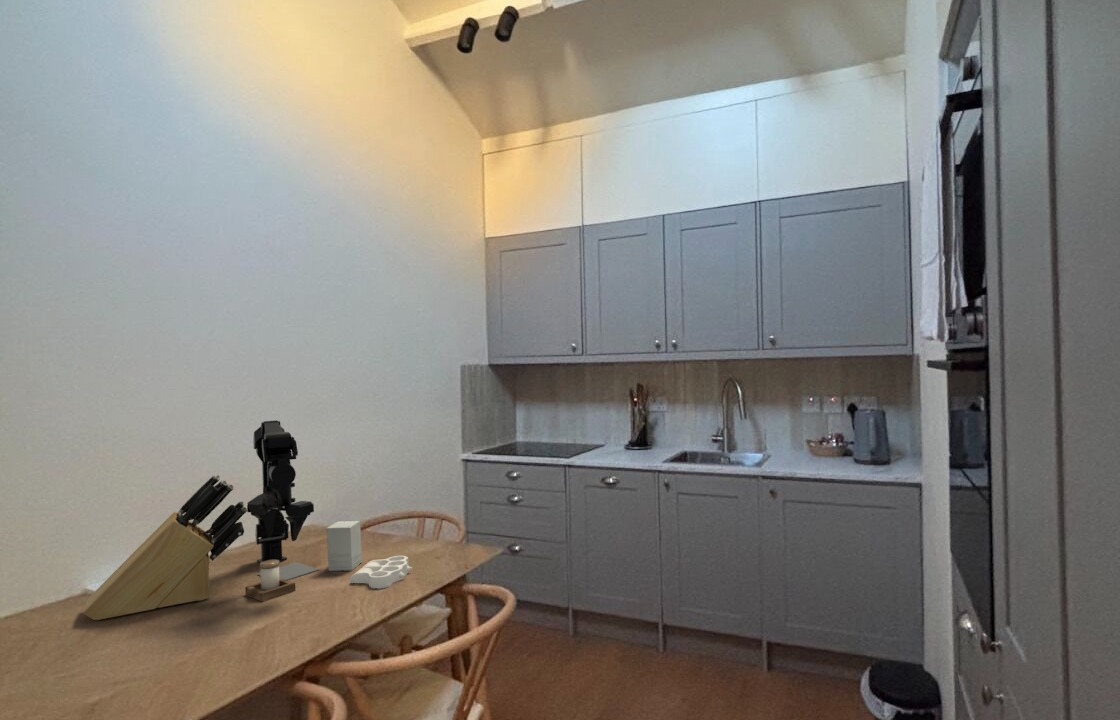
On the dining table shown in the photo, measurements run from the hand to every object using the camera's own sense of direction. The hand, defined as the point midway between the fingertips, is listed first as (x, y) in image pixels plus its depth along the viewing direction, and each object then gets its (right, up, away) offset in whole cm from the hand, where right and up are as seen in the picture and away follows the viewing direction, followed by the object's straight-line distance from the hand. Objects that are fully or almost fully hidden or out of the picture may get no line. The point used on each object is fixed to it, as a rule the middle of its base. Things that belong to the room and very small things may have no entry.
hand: (281, 539), depth 163 cm
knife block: (-26, -15, -5) cm, 30 cm away
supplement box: (+11, -13, +17) cm, 24 cm away
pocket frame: (-2, -14, -2) cm, 14 cm away
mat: (-4, -14, +13) cm, 19 cm away
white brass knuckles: (+25, -13, +8) cm, 30 cm away
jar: (-2, -14, -2) cm, 14 cm away
